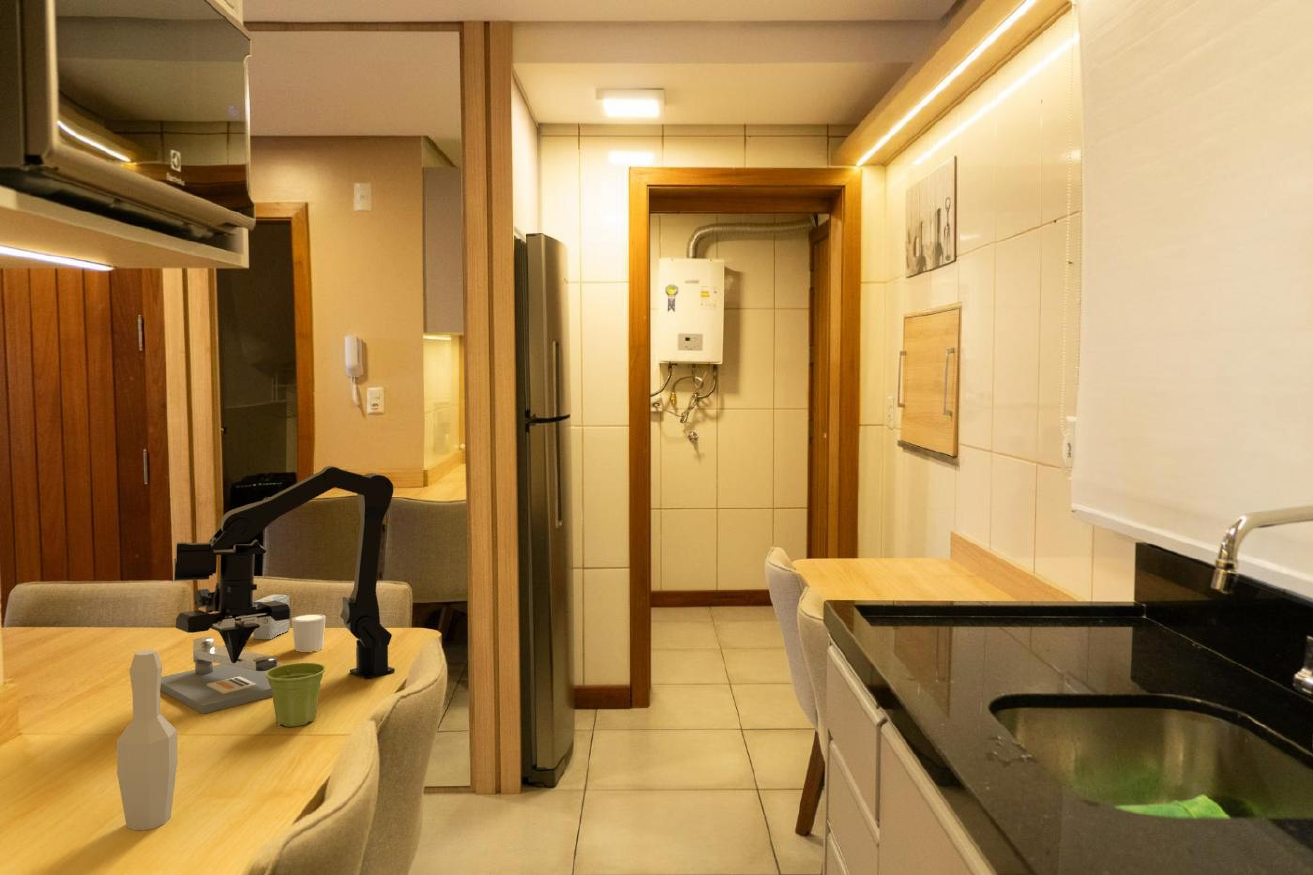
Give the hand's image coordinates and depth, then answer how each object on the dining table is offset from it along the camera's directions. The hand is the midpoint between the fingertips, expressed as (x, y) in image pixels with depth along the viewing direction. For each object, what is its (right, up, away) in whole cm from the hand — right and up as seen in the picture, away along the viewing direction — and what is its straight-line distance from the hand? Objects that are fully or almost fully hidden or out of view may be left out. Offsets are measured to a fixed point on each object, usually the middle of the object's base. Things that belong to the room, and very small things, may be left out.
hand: (233, 662), depth 162 cm
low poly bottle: (+13, -8, -49) cm, 51 cm away
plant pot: (+17, -7, -13) cm, 23 cm away
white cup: (+2, -5, +29) cm, 30 cm away
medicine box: (-11, -4, +40) cm, 42 cm away
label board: (-2, -6, +4) cm, 7 cm away
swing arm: (-2, -2, +4) cm, 5 cm away
